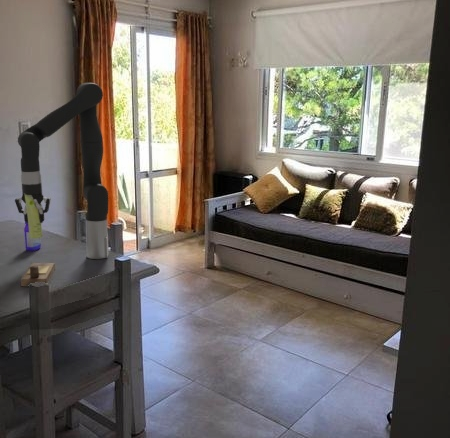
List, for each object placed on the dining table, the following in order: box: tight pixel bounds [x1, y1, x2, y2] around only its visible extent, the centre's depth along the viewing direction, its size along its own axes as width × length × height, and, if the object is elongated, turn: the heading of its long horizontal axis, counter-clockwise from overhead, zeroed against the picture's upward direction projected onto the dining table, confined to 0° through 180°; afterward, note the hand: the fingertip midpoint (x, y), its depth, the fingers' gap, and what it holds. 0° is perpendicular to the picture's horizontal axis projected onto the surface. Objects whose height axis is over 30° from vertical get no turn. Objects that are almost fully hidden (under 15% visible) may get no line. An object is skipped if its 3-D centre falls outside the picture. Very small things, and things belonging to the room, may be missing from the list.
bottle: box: [23, 221, 42, 252], centre depth 222 cm, size 7×6×17 cm
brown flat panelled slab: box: [20, 262, 56, 286], centre depth 189 cm, size 9×18×7 cm, turn 9°
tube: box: [25, 195, 43, 239], centre depth 199 cm, size 6×5×20 cm
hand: (34, 222), depth 200 cm, fingers closed on tube, 5 cm apart
